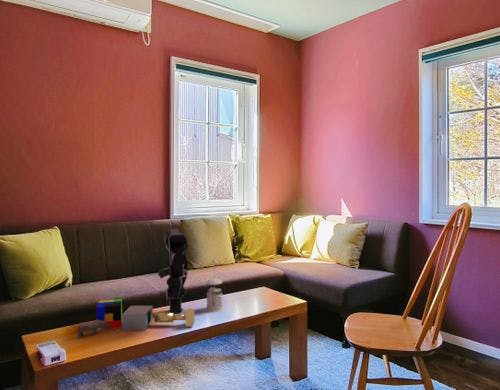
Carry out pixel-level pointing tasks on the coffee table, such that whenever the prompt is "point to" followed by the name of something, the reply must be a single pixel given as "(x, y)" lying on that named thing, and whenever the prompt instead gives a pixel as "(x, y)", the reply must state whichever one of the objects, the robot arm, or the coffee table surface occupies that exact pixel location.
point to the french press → (214, 295)
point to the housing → (137, 318)
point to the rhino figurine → (91, 327)
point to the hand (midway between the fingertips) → (177, 295)
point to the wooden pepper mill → (176, 317)
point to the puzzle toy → (110, 312)
